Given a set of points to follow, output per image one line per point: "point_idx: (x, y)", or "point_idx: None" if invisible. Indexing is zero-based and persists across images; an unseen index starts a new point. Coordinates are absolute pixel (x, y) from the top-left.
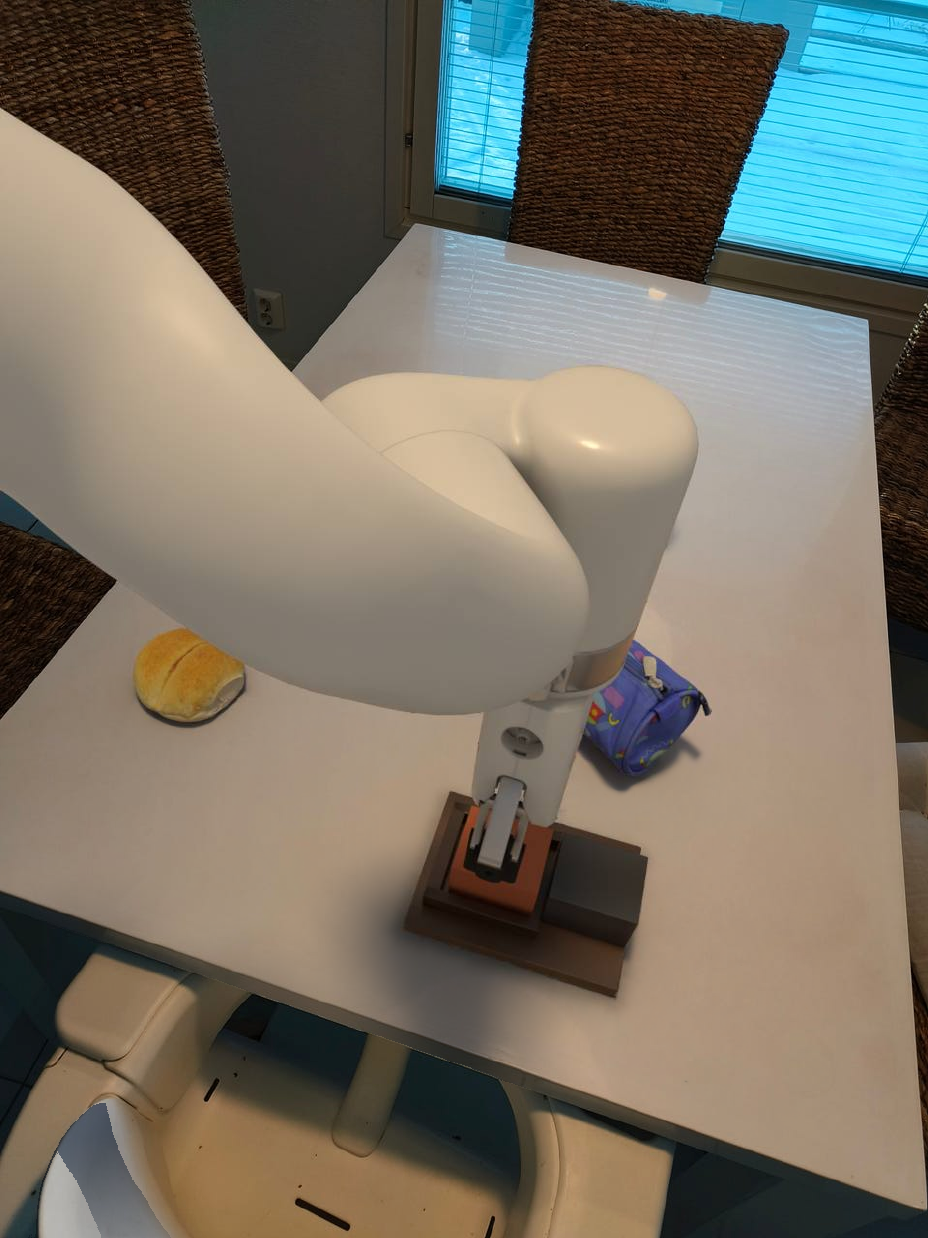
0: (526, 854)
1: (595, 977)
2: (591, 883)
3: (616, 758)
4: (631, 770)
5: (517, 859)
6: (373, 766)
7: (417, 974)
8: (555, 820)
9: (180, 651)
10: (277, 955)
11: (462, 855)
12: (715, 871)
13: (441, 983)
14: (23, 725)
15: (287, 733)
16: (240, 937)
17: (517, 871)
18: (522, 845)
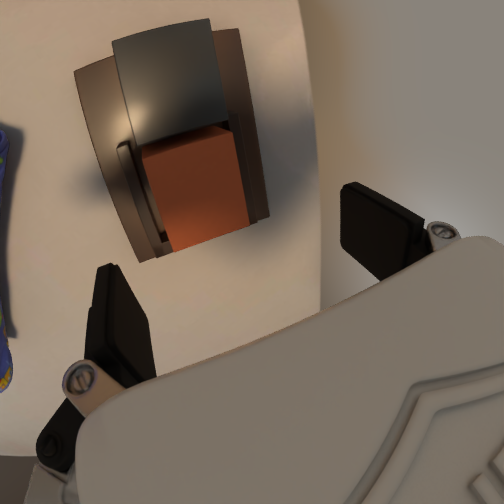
0: (192, 168)
1: (237, 49)
2: (185, 82)
3: (3, 159)
4: (1, 137)
5: (453, 228)
6: (157, 313)
7: (288, 182)
8: (495, 240)
9: None
10: (310, 262)
11: (232, 224)
12: (59, 8)
13: (286, 163)
14: None
15: (178, 359)
16: (308, 283)
17: (379, 194)
18: (417, 228)
